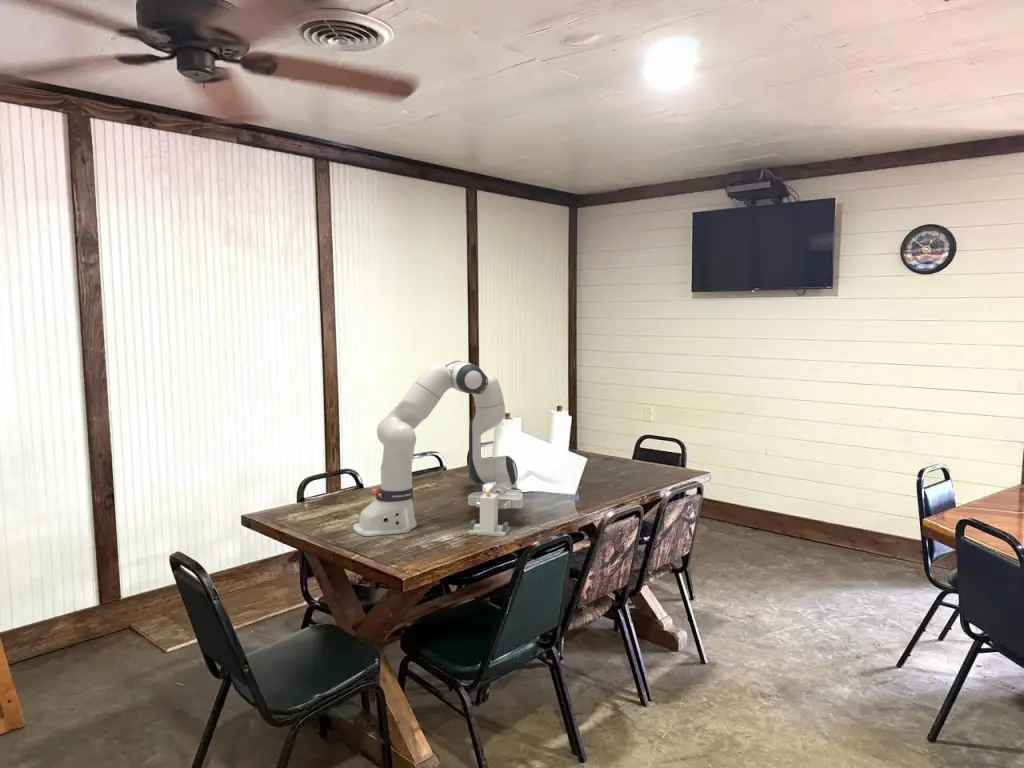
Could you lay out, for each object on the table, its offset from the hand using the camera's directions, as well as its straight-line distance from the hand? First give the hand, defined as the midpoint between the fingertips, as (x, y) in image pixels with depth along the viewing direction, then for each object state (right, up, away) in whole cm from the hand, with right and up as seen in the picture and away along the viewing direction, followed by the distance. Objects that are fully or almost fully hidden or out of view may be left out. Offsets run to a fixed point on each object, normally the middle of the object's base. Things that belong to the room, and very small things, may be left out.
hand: (491, 505), depth 247 cm
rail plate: (-1, -9, -2) cm, 9 cm away
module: (-1, -8, -2) cm, 8 cm away
